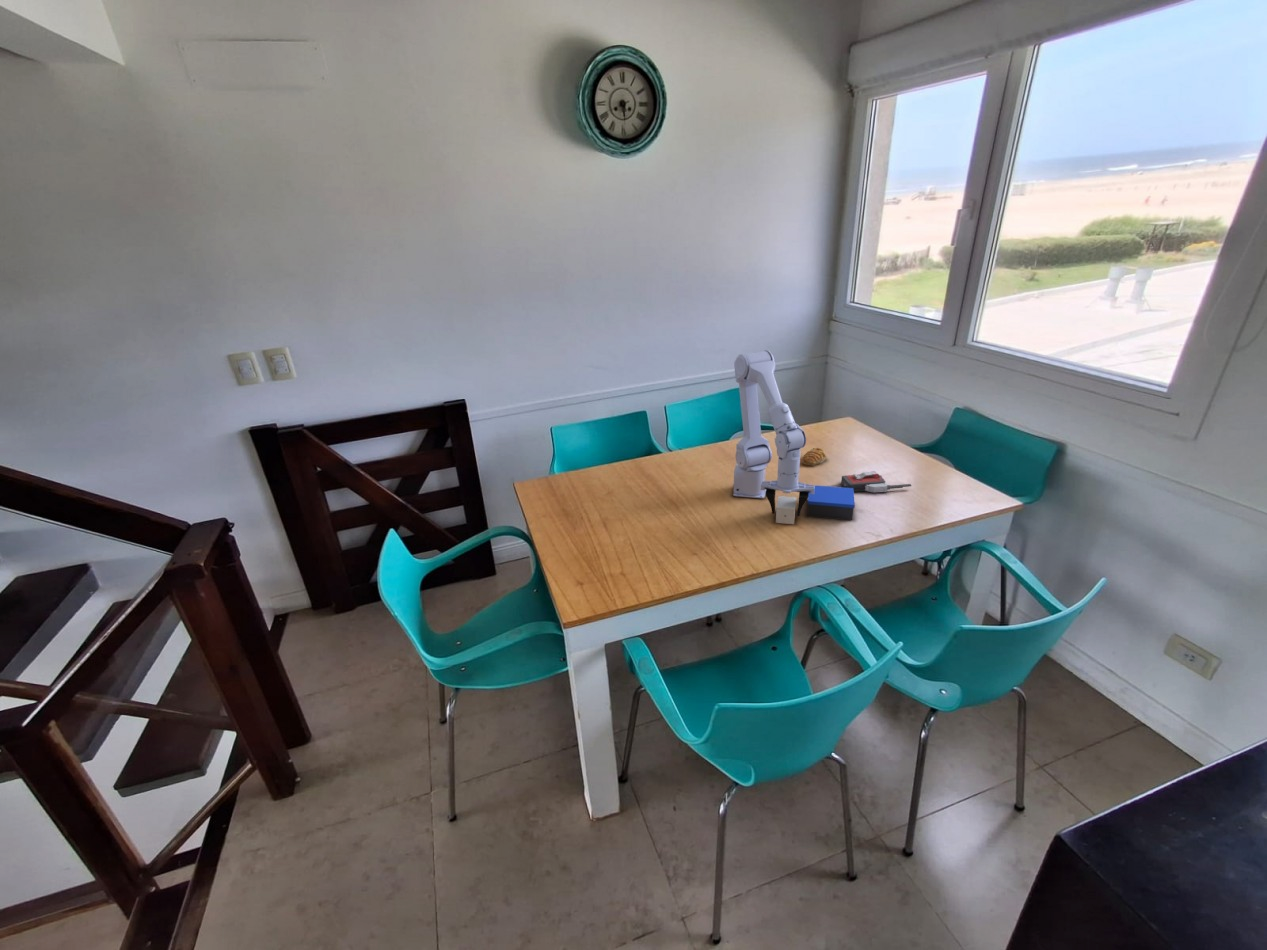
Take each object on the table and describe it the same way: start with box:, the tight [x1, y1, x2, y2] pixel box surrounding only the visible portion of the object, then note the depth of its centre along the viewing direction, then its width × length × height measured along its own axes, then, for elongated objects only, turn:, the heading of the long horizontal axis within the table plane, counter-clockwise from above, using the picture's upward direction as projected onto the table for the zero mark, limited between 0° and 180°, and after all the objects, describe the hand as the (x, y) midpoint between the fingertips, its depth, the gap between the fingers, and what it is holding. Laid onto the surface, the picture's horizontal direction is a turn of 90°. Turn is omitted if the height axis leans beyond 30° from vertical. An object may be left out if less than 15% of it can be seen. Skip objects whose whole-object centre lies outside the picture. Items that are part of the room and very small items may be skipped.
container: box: [807, 484, 856, 521], centre depth 161 cm, size 12×10×5 cm
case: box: [775, 495, 797, 525], centre depth 159 cm, size 7×5×5 cm
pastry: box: [802, 447, 828, 467], centre depth 192 cm, size 9×7×4 cm
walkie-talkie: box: [840, 470, 912, 494], centre depth 172 cm, size 9×4×20 cm
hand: (785, 513), depth 159 cm, fingers open, 6 cm apart
